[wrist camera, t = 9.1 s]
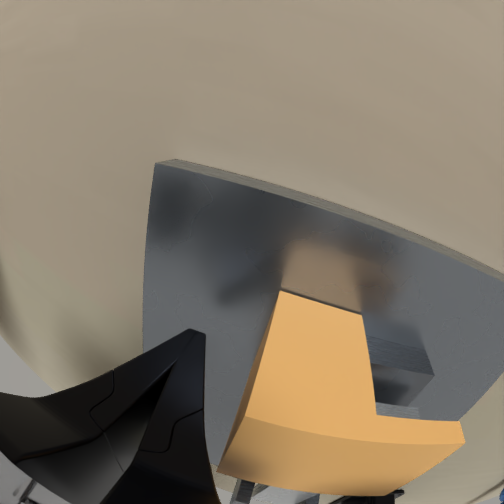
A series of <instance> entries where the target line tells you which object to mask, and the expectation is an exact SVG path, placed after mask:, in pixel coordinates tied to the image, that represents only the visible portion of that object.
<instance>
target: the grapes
mask: <svg viewBox="0 0 504 504" xmlns="http://www.w3.org/2000/svg"><path fill="white" fill-rule="evenodd" d="M500 501H501V502H502V501H504V489H503V490H502V492H501V494H500ZM501 504H504V502H502V503H501Z"/></svg>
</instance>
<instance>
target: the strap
mask: <svg viewBox="0 0 504 504" xmlns="http://www.w3.org/2000/svg"><path fill="white" fill-rule="evenodd" d="M375 405H376V414H377V415H381V416H389V417H398V418H407V419H419V420H420V417H419V411H418V408H414V407H406V406H398V405H391V404H384V403H378V402H375ZM317 494H319V493H311V492H303V491H296V490H290V489H284V488H279V487H273V486H268V485H264V484H257V485H256V486H255V487H254V489H253V492H252V496H251V499H254V500H258V501H263V502H268V503H274V504H296V503H299V502H301V501H304V500H306V499H308V498H310V497H313V496H315V495H317Z"/></svg>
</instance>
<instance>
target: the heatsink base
mask: <svg viewBox="0 0 504 504" xmlns="http://www.w3.org/2000/svg"><path fill="white" fill-rule="evenodd" d="M280 291H283V292H286V293H290V294H293V295H296V296H299V297H302V298H306V299H309V300H312V301H315V302H319V303H322V304H325V305H328V306H332V307H335V308H338V309H342V310H345V311H348V312H352V313H355V314H359V315H362V319H363V324H364V330H365V335H366V341H367V347H368V353H369V359H370V366H371V372H372V380H373V387H374V396H375V402H378V403H384V404H391V405H398V406H406V407H414V408H418V411H419V417H420V420H434V421H458V420H459V419H460V418H461V417H462V416H463V415H464V414H465V413H466V412H467V411H468V410H469V409H470V408H471V407H472V406H473V405H474V404H475V403H476V402H477V401H478V400H479V399H480V398H481V397H482V396H483V395H484V394H485V393H486V391H487V390H488V389H489V388H490V387H491V386H492V385H493V384H494V382H495V381H496V380H497V379H498V378H499V376H500V375H501V374H502V373H503V371H504V274H502V273H500V272H498V271H496V270H494V269H492V268H490V267H488V266H486V265H484V264H482V263H480V262H478V261H476V260H474V259H472V258H470V257H468V256H465V255H463V254H461V253H459V252H457V251H455V250H452V249H450V248H448V247H446V246H443V245H441V244H439V243H436V242H434V241H432V240H430V239H427V238H425V237H422V236H420V235H418V234H415V233H413V232H410V231H408V230H405V229H403V228H400V227H398V226H395V225H393V224H390V223H388V222H385V221H382V220H380V219H377V218H374V217H372V216H369V215H366V214H363V213H361V212H358V211H355V210H352V209H349V208H347V207H344V206H341V205H338V204H335V203H332V202H329V201H326V200H323V199H320V198H317V197H314V196H311V195H308V194H305V193H301V192H298V191H295V190H292V189H288V188H285V187H282V186H278V185H275V184H272V183H268V182H265V181H261V180H258V179H254V178H250V177H247V176H243V175H239V174H236V173H232V172H228V171H224V170H220V169H216V168H212V167H208V166H204V165H200V164H195V163H191V162H187V161H182V160H178V159H173V160H168V161H163V162H158V163H155V168H154V175H153V182H152V189H151V197H150V205H149V214H148V224H147V235H146V248H145V263H144V284H143V353H145V352H147V351H149V350H150V349H152V348H154V347H156V346H158V345H160V344H161V343H163V342H165V341H167V340H169V339H171V338H172V337H174V336H176V335H178V334H180V333H181V332H183V331H185V330H187V329H189V328H191V329H194V330H197V331H200V332H202V333H205V334H206V353H205V399H204V412H205V413H204V422H205V437H206V444H207V450H208V456H209V461H210V463H211V464H214V465H217V466H219V463H220V460H221V457H222V454H223V451H224V449H225V446H226V443H227V440H228V437H229V434H230V431H231V428H232V426H233V423H234V420H235V417H236V414H237V411H238V408H239V405H240V402H241V399H242V396H243V392H244V389H245V386H246V383H247V380H248V377H249V374H250V371H251V368H252V365H253V362H254V360H255V357H256V355H257V352H258V349H259V347H260V344H261V341H262V339H263V336H264V333H265V331H266V328H267V325H268V322H269V320H270V317H271V314H272V311H273V309H274V306H275V303H276V300H277V297H278V295H279V292H280ZM254 485H255V482H251V481H247V480H243V479H239V478H238V479H237V482H236V485H235V488H234V491H233V495H232V498H231V501H230V504H249V503H250V500H251V496H252V492H253V489H254ZM319 496H320V493H319V494H317V495H315V496H313V497H310V498H308V499H306V500H304V501H301V502H299V503H296V504H318V503H319Z"/></svg>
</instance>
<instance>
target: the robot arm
mask: <svg viewBox="0 0 504 504" xmlns="http://www.w3.org/2000/svg"><path fill="white" fill-rule="evenodd" d="M205 353H206V334H205V333H202V332H200V331H197V330H194V329H191V328H189V329H187V330H185V331H183V332H181V333H180V334H178V335H176V336H174V337H172V338H171V339H169V340H167V341H165V342H163V343H161V344H160V345H158V346H156V347H154V348H152V349H150V350H149V351H147V352H145V353H143V354H141V355H139V356H137V357H136V358H134V359H132V360H130V361H128V362H126V363H124V364H122V365H121V366H119V367H117V368H115V369H114V371H113V370H111V371H109V372H107V373H105V374H103V375H101V376H99V377H97V378H95V379H92V380H90V381H88V382H85V383H82V384H80V385H77V386H74V387H72V388H69V389H66V390H63V391H60V392H57V393H54V394H51V395H48V396H44V397H37V398H30V397H23V396H18V395H12V394H7V393H2V392H0V504H221V502H220V500H219V497H218V494H217V491H216V488H215V484H214V480H213V475H212V470H211V466H210V461H209V456H208V450H207V444H206V437H205V422H204V413H205V412H204V399H205ZM403 494H404V490H400V491H393V492H391V493H389V494H387V495H385V496H346V497H344V498H342V499H340V500H338V501H336V502H334V503H332V504H395V499H396V498H398V497H399V496H401V495H403Z"/></svg>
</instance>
